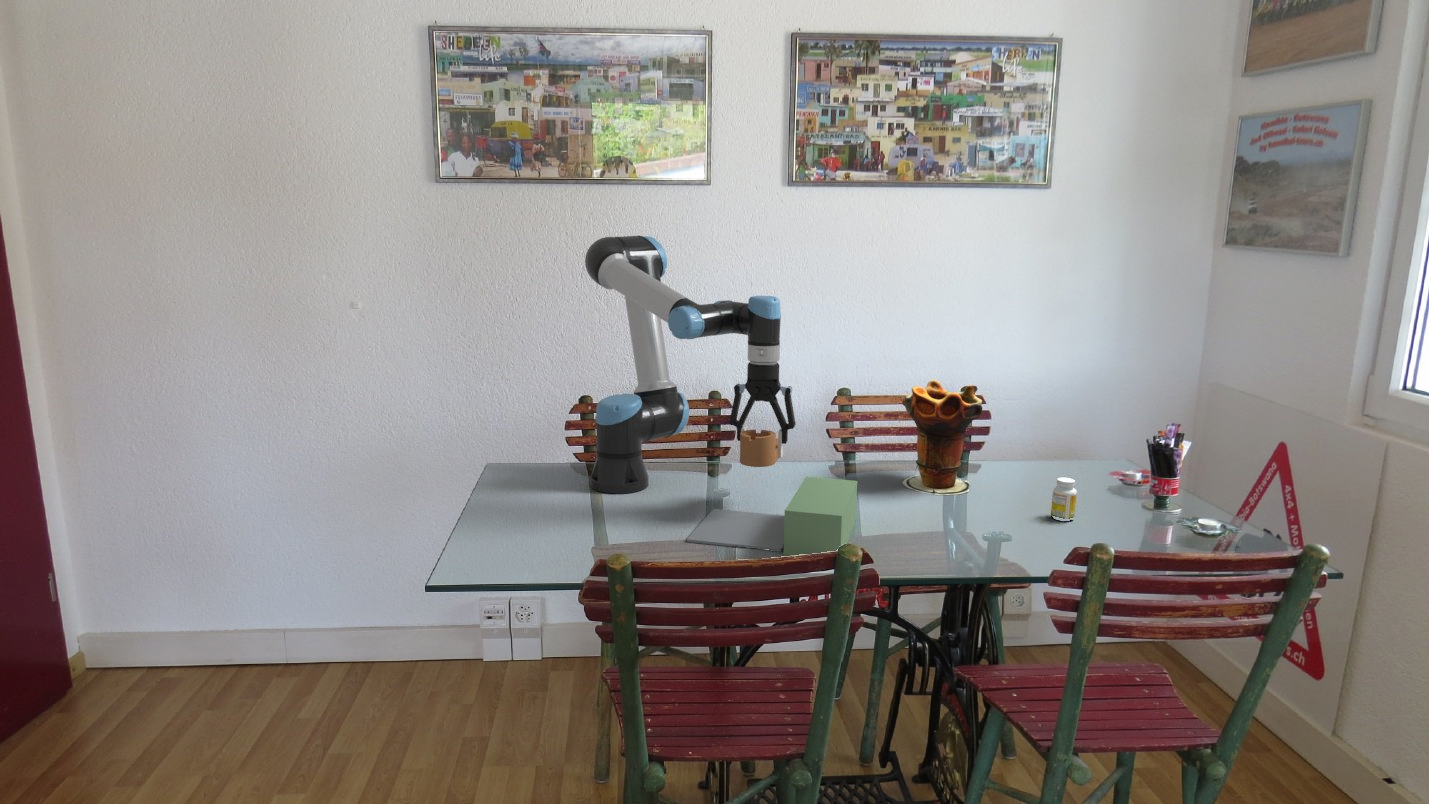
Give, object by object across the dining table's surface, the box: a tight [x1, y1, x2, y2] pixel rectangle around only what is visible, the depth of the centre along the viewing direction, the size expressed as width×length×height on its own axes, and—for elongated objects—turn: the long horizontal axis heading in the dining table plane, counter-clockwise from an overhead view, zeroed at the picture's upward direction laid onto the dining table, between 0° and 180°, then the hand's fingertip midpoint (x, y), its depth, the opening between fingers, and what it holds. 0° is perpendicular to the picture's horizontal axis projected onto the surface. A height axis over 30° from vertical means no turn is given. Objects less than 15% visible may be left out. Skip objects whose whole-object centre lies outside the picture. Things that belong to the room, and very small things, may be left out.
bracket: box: [739, 429, 779, 468], centre depth 230 cm, size 18×8×7 cm, turn 166°
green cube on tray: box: [686, 476, 858, 557], centre depth 216 cm, size 34×26×10 cm
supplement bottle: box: [1050, 477, 1078, 519], centre depth 228 cm, size 5×5×10 cm
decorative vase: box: [901, 379, 983, 496], centre depth 252 cm, size 21×23×28 cm
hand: (761, 455), depth 231 cm, fingers closed on bracket, 8 cm apart
